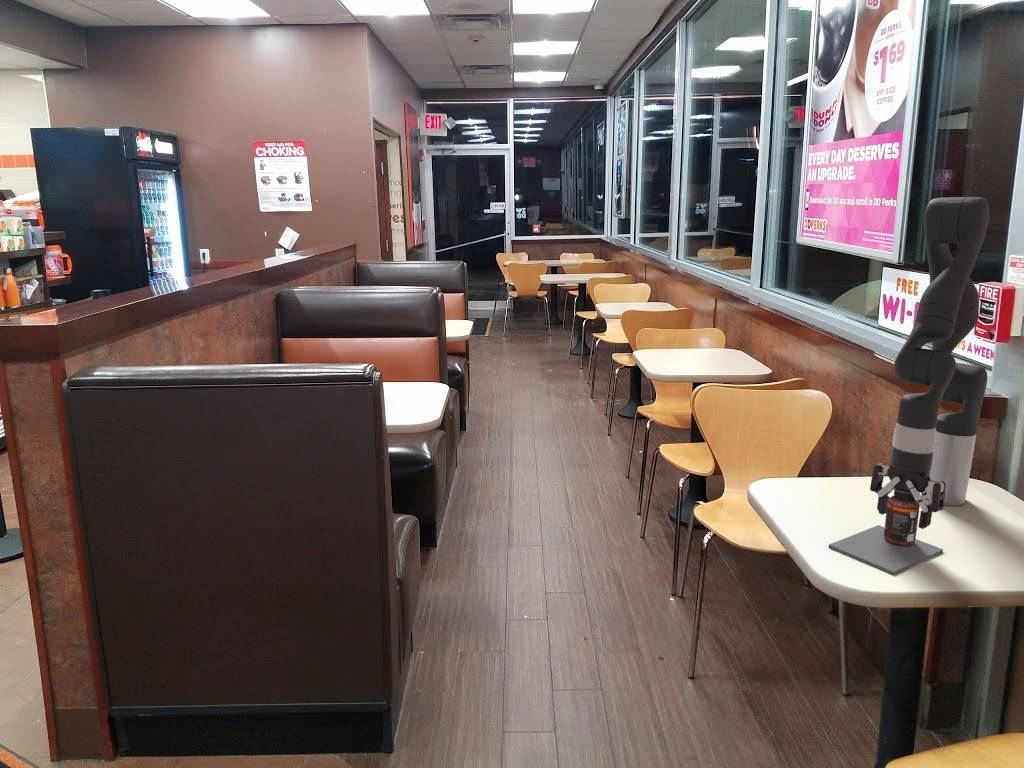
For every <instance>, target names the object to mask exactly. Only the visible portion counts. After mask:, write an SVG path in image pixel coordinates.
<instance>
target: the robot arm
mask: <svg viewBox="0 0 1024 768" xmlns="http://www.w3.org/2000/svg"><path fill="white" fill-rule="evenodd" d="M924 211H925V212H924V216H923V217H924V218H923V219H924V220H923V228H924V230H923V231H924V237H925V247H926V248H925V249H926V252H927V253H926V254H927V260H928V261H927V262H928V269H929V285H928V286H927V287H926V288H925V289H924V292H923V293H922V295H921V297H920V301H919V303H918V309H917V312H916V316H915V320H914V323H913V327H912V330H911V331H910V334H909V335H908V338H907V339H906V341H905V343H904V344H903V346H902V347H901V349H900V350H899V352H898V354H897V356H896V357H895V359H894V363H893V372H894V374H895V376H896V378H897V380H899V381H901V382H904V383H910V384H917V385H924V386H930V389H929V390H928V391H926V392H922V393H908V394H904V395H902V396H901V398H900V399H899V405H898V410H897V418H896V425H895V428H894V431H893V437H892V445H891V451H890V452H891V453H890V459H889V460H890V461H889V466H887V465H886V464H885V463H884V462H881V463H878V464H874V467H873V469H872V475H871V481H870V485H869V490H870V491H871V492H875V494H877V496H878V498H877V506H876V509H877V511H878V514H880V515H886V512H887V503H888V499H889V498H890V497H891V496H889V495H890V494H891V493H892V492H894V489H898V490H901V491H904V492H908V493H910V496H914V498H915V500H916V502H918V503H919V505H920V508H921V511H920V512H919V519H918V529H922V530H923V529H926V528H927V527H929V526H930V525H931V523H932V515H933V513H938V512H940V511H942V510H944V507H945V506H950V507H952V506H954V507H955V506H956V507H957V506H963V505H964V504H965V503H966V499H967V498H966V497H967V492H968V486H969V480H970V475H971V469H972V463H973V457H974V456H973V455H974V451H975V444H976V440H977V439H976V438H977V431H978V427H979V421H980V417H981V411H982V406H983V403H984V397H985V393H986V389H987V384H988V373H987V370H986V368H985V367H983V366H980V365H975V364H970V363H961V362H957V361H956V359H955V357H954V355H953V354H952V353H953V352H954V351H955V349H956V348H957V346H958V345H959V344H960V342H962V341H963V340H964V339H965V338H966V337H967V336H968V335H969V334H970V333H971V332H972V331H973V329H974V327H976V325H977V323H978V321H979V315H980V313H979V311H980V308H979V307H980V303H979V302H980V301H979V299H980V298H979V297H980V296H979V291H978V289H977V287H976V285H975V283H974V282H973V280H972V279H971V278H970V276H971V273H972V271H973V269H974V267H975V264H976V261H977V259H978V256H979V253H980V252H981V251H980V250H981V248H982V245H983V243H984V240H985V238H986V235H987V231H988V226H989V221H990V215H991V214H990V205H989V202H988V200H987V199H986V198H985V197H981V196H980V197H979V196H974V197H973V196H964V197H963V196H960V197H959V196H958V197H957V196H955V197H953V196H950V197H936V198H933V199H931V200H930V201H929V202H928V204H927V205H926V208H925V210H924ZM949 244H955V245H956V244H957V245H958V244H959V245H960V244H961V246H960V248H959V250H958V252H957V253H956V256H955V257H953V255H952V252H951V249H950V247H949ZM930 343H931V349H930V348H929V349H928V348H923V347H924V346H925V345H927V344H930ZM942 401H944V402H950V403H955V404H962V405H963V406H962V408H961V409H960V410H958V411H954V412H947V413H939V410H940V406H941V403H942ZM885 475H887V476H888V478H889V481H888V483H887V484H885V485H884V486H883V482H884V477H885Z"/></svg>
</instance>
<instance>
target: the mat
mask: <svg viewBox="0 0 1024 768" xmlns="http://www.w3.org/2000/svg"><path fill="white" fill-rule="evenodd" d="M884 529H885V526H882V525H879V524H878V525H875V526H873V527H871V528H867V529H864V530H863V531H860V532H857V533H855V534H852V535H850V536H847V537H844V538H842V539H839V540H837V541H834V542H832V543H829V544H828V548H830V549H832V550H834V551H836V552H839V553H841V554H844V555H846V556H848V557H851V558H853V559H856V560H858V561H860V562H863V563H865V564H866V565H867V564H868V565H870V566H872V567H875V568H877V569H879V570H882V571H883V572H886V573H888V574H891V575H893V576H894V575H896V574H899V573H901V572H902V571H905V570H907V569H910V568H912V567H913V566H916V565H918V564H920V563H922V562H925V561H926V560H929V559H930V558H931V559H932V558H934V556H938V555H939V554H941V553H944V548H941V547H938V546H935V545H933V544H930V543H927V542H924V541H922V540H919V539H917V538H916V539H915V542H914V544H912V545H907V546H905V545H897V544H893V543H891V542H889V541H887V540H886V539H885V538H884Z"/></svg>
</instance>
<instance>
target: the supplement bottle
mask: <svg viewBox="0 0 1024 768" xmlns="http://www.w3.org/2000/svg"><path fill="white" fill-rule="evenodd" d="M920 508H921V507H920V505H919V503H918V502H916V500H915V498H914V496H910V493H908V492H904V491H901V490H898V489H894V490H893V495H892V496H890V497H889V499H888V503H887V512H886V514H885V521H884V527H885V529H884V538H885V539H886V540H887V541H889V542H891V543H893V544H897V545H905V546H907V545H912V544H914V542H915V539H917V538H916V537H917V531H918V525H919V517H920Z"/></svg>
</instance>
